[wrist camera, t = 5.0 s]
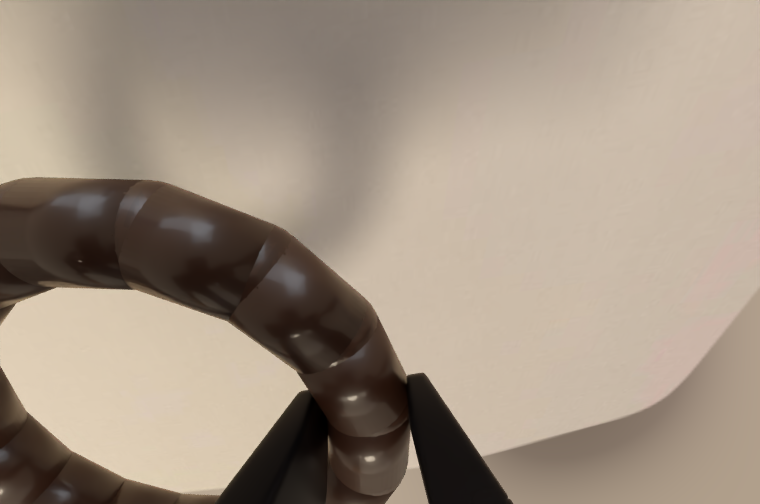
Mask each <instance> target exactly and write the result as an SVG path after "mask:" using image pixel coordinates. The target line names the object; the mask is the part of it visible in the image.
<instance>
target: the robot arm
mask: <svg viewBox="0 0 760 504" xmlns="http://www.w3.org/2000/svg"><path fill="white" fill-rule="evenodd" d="M407 399H408V416H409V424H410V429H411V433H412V437H413V441H414V445H415V450H416V454H417V458H418V462H419V466H420V470H421V474H422V478H423V483H424V486H425V490H426V495H427V499H428V503H429V504H513V502H512V501H511V500H510V499H508V496H507V494H506V493H505V491H504V490H503V488H502V487H501V485H500V484H499V482H498V481H497V479H496V478H495V476H494V475H493V473H492V472H491V470H490V469H489V467H488V466H487V464H486V463H485V462H484V460H483V459H482V457H481V456H480V454H479V453H478V451H477V450H476V448H475V447H474V445H473V444H472V442H471V441H470V439H469V438H468V436H467V435H466V433H465V432H464V431H463V429H462V428H461V426H460V425H459V423H458V422H457V420H456V419H455V417H454V416H453V414H452V413H451V411H450V410H449V408H448V407H447V405H446V404H445V402H444V401H443V399H442V398H441V397H440V395H439V394H438V392H437V391H436V389H435V388H434V386H433V385H432V383H431V382H430V380H429V379H428V377H427V376H426V375H425V374H424V373H417V374H410V375H408V376H407ZM327 470H328V430H327V422H326V416H325V414H324V413H323V411H322V410H321V408H320V407H319V405H318V404H317V402H316V401H315V399H314V398H313V396H312V395H311V393H310V391H309V390H306V391H301V392H299V393H298V394H297V396H296V397H295V398H294V399H293V401H292V402H291V403H290V405H289V406H288V407H287V409H286V410H285V411H284V413H283V414H282V415H281V417H280V418H279V419H278V420H277V422H276V423H275V424H274V426H273V427H272V428H271V430H270V431H269V432H268V434H267V435H266V436H265V438H264V439H263V440H262V441H261V443H260V444H259V445H258V447H257V448H256V449H255V451H254V452H253V453H252V455H251V456H250V457H249V459H248V460H247V461H246V462H245V464H244V465H243V466H242V468H241V469H240V470H239V472H238V473H237V474H236V476H235V477H234V478H233V480H232V481H231V482H230V483H229V485H228V486H227V487H226V489H225V490H224V492H223V493H222V494H221V495H220V497H219V498H218V499H217V501H216V502H215V503H214V504H326V495H327Z"/></svg>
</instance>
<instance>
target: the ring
mask: <svg viewBox="0 0 760 504" xmlns="http://www.w3.org/2000/svg"><path fill="white" fill-rule="evenodd" d="M56 287H62V288H95V289H128V290H138V291H141V292H144V293H147V294H149V295H152V296H155V297H158V298H161V299H164V300H167V301H170V302H173V303H176V304H179V305H181V306H184V307H187V308H190V309H193V310H196V311H199V312H202V313H205V314H208V315H211V316H213V317H216V318H219V319H222V320H225V321H228V322H229V323H230V324H232V325H233V326H235V327H236V328H237V329H239V330H240V331H242V332H243V333H244V334H246V335H247V336H248V337H250V338H251V339H253V340H254V341H255V342H257V343H258V344H260V345H261V346H262V347H264V348H265V349H266V350H268V351H269V352H271V353H272V354H273V355H275V356H276V357H278V358H279V359H280V360H282V361H283V362H284V363H286V364H287V365H289V366H290V367H291V368H293V369H294V370H296V371H297V373H298V375H299V376H300V378H301V379H302V381H303V382H304V384H305V385H306V387H307V388H308V390H309V391H310V393H311V395H312V396H313V398H314V399H315V401H316V402H317V404H318V405H319V407H320V408H321V410H322V411H323V413H324V414H325V416H326V422H327V430H328V470H327V495H326V504H385V503H386V501H387V500H388V499H389V497H390V496H391V494H392V493H393V492H394V491H395V490H396V488H397V487H398V486H399V484H400V483H401V481H402V479H403V477H404V475H405V472H406V469H407V464H408V456H409V443H410V430H411V429H410V424H409V416H408V399H407V376H406V373H405V371H404V369H403V367H402V365H401V363H400V361H399V359H398V357H397V355H396V353H395V351H394V349H393V347H392V345H391V343H390V340H389V338H388V336H387V334H386V332H385V330H384V328H383V326H382V324H381V322H380V320H379V318H378V316H377V314H376V312H375V310H374V309H373V307H372V305H371V304H370V303H369V302H368V301H367V300H366V299H365V298H364V297H363V296H362V295H361V294H360V293H359V292H357V291H356V290H355V289H354V288H353V287H352V286H350V285H349V284H348V283H347V282H346V281H345V280H343V279H342V278H341V277H340V276H339V275H338V274H337V273H335V272H334V271H333V270H332V269H331V268H330V267H328V266H327V265H326V264H325V263H324V262H323V261H321V260H320V259H319V258H318V257H317V256H316V255H314V254H313V253H312V252H311V251H310V250H309V249H308V248H306V247H305V246H304V245H303V244H302V243H301V242H299V241H298V240H297V239H296V238H295V237H294V236H292V235H291V234H290V233H288V232H287V231H286V230H284V229H282V228H280V227H278V226H276V225H273V224H271V223H268V222H266V221H263V220H261V219H258V218H256V217H253V216H251V215H248V214H245V213H243V212H240V211H238V210H235V209H233V208H230V207H228V206H225V205H222V204H220V203H217V202H215V201H212V200H210V199H207V198H205V197H202V196H200V195H197V194H194V193H192V192H189V191H187V190H184V189H182V188H179V187H177V186H174V185H171V184H167V183H164V182H160V181H152V180H121V179H82V178H43V177H35V178H22V179H17V180H13V181H10V182H7V183H3V184H1V185H0V325H1V324H2V322H3V321H4V319H5V318H6V317H7V315H8V314H9V312H10V311H11V310H12V308H13V307H14V306H15V304H16V303H17V302H20V301H22V300H25V299H28V298H30V297H33V296H35V295H38V294H41V293H43V292H46V291H49V290H51V289H54V288H56ZM219 497H220V496H219V495H195V494H181V493H177V492H174V491H170V490H166V489H162V488H159V487H155V486H151V485H147V484H144V483H140V482H136V481H132V480H129V479H125V478H123V477H121V476H119V475H117V474H115V473H114V472H112V471H110V470H108V469H106V468H104V467H102V466H100V465H98V464H96V463H94V462H92V461H90V460H88V459H86V458H84V457H82V456H81V455H79V454H77V453H75V452H73V451H71V450H70V449H69V448H67V447H66V446H65V445H64V444H63V443H62V442H61V441H59V440H58V439H57V438H56V437H55V436H54V435H53V434H51V433H50V432H49V431H48V430H47V429H46V428H45V427H44V426H42V425H41V424H40V423H39V422H38V421H37V420H36V419H34V418H33V417H32V416H31V415H30V414H29V413H28V412H27V411H26V410H25V408H24V407H23V405H22V403H21V401H20V400H19V398H18V396H17V394H16V393H15V391H14V389H13V387H12V386H11V384H10V382H9V380H8V379H7V377H6V375H5V374H4V372H3V370H2V368H1V367H0V504H214V503H215V502H216V501H217V499H218V498H219Z"/></svg>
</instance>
